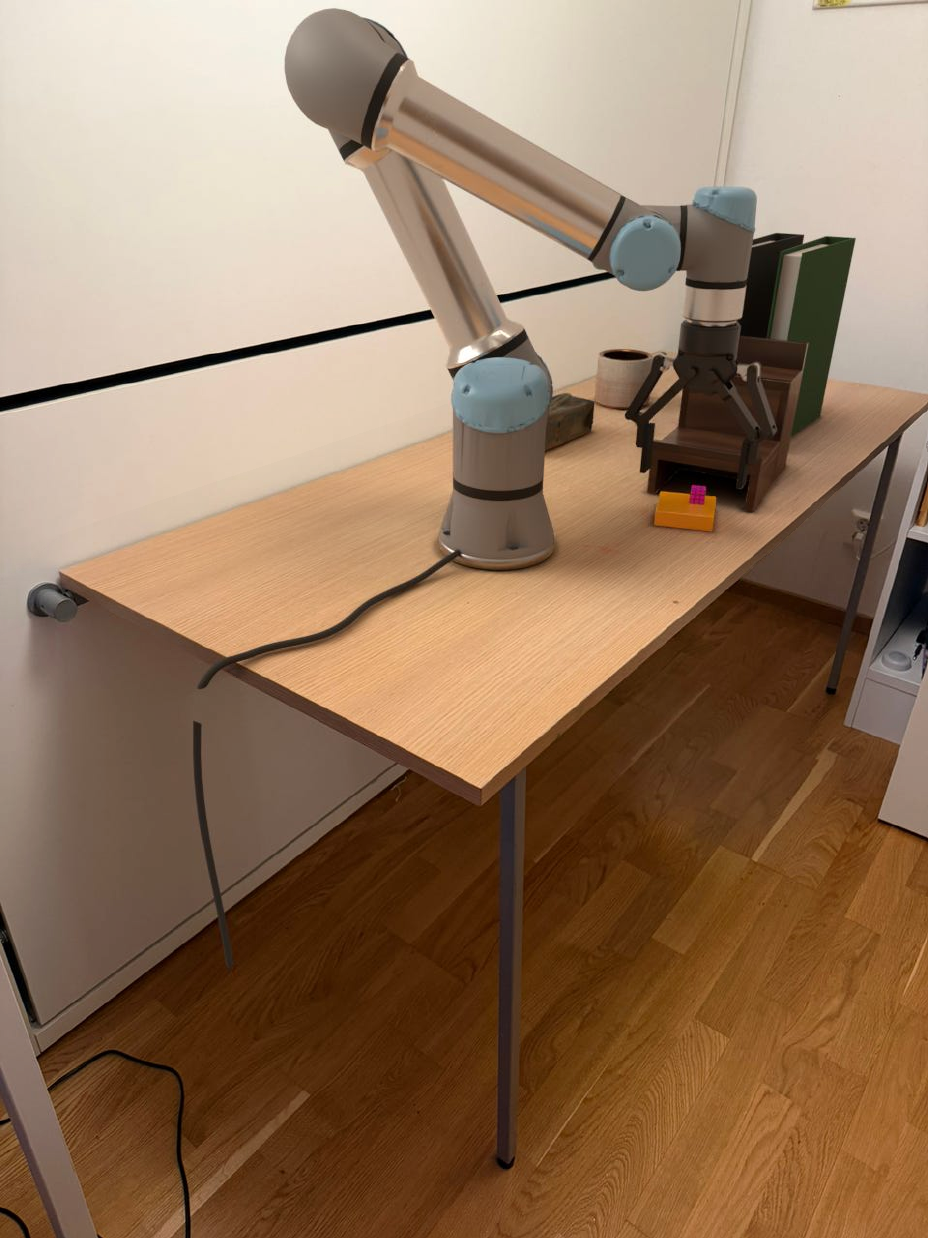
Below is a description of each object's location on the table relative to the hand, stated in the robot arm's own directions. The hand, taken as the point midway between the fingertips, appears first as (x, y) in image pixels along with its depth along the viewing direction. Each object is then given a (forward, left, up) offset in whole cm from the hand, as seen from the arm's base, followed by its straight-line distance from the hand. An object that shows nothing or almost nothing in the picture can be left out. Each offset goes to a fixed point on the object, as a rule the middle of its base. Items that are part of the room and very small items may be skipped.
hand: (691, 477), depth 125 cm
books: (+50, +1, -6) cm, 50 cm away
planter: (+53, +29, -6) cm, 61 cm away
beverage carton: (+23, +32, -6) cm, 40 cm away
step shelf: (+18, 0, -6) cm, 19 cm away
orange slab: (0, 0, -6) cm, 6 cm away
